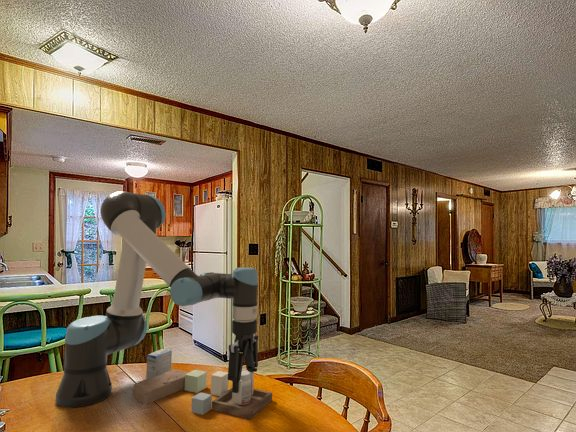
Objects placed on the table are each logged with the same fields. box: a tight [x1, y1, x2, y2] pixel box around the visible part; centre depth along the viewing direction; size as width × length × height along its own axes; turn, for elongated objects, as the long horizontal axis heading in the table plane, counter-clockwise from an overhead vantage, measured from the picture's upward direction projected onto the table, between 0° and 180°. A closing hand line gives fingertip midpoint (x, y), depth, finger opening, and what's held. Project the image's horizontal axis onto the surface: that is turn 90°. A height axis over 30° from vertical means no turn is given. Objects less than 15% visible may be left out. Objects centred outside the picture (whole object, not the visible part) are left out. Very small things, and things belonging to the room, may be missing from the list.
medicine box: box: [145, 348, 173, 379], centre depth 128 cm, size 8×4×9 cm, turn 158°
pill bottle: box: [238, 370, 251, 405], centre depth 107 cm, size 5×5×8 cm
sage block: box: [184, 369, 208, 394], centre depth 119 cm, size 5×5×5 cm
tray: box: [211, 387, 273, 420], centre depth 107 cm, size 13×13×2 cm
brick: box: [131, 368, 188, 405], centre depth 116 cm, size 17×8×5 cm, turn 144°
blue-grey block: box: [190, 391, 213, 415], centre depth 104 cm, size 4×4×4 cm
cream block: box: [210, 370, 230, 397], centre depth 115 cm, size 4×4×6 cm
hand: (243, 398), depth 107 cm, fingers open, 6 cm apart
